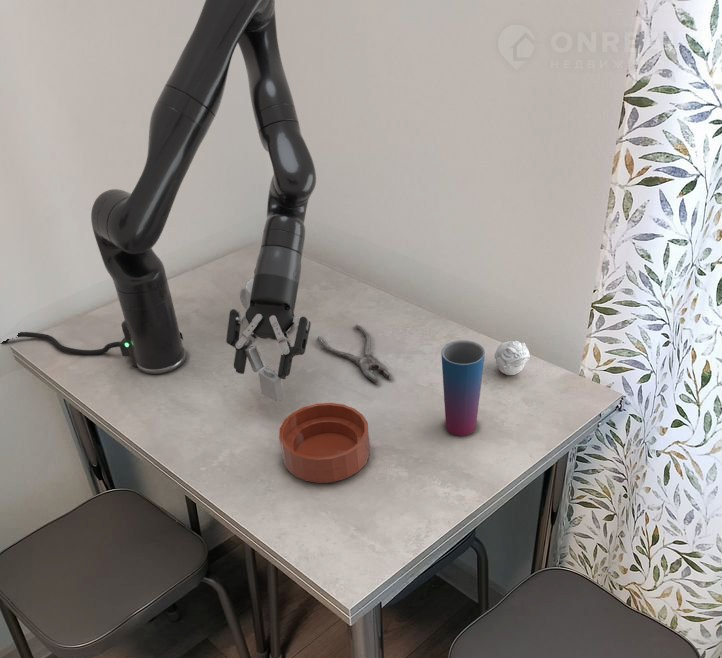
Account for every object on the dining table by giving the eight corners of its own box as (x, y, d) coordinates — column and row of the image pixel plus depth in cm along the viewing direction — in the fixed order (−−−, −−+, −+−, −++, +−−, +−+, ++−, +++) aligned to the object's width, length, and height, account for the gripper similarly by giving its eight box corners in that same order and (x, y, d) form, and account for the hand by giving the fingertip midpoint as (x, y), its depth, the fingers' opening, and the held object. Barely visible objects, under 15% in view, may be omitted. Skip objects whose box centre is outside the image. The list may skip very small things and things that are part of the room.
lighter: (284, 397, 137) (278, 358, 132) (276, 402, 137) (270, 362, 131) (258, 381, 142) (251, 342, 136) (250, 386, 141) (243, 347, 135)
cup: (437, 416, 139) (438, 342, 129) (476, 412, 139) (480, 338, 129) (444, 441, 134) (445, 366, 124) (484, 437, 134) (489, 362, 124)
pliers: (351, 319, 162) (417, 361, 150) (352, 323, 163) (417, 365, 151) (312, 337, 158) (377, 382, 146) (313, 341, 159) (377, 385, 146)
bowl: (270, 478, 129) (266, 452, 126) (299, 423, 140) (296, 398, 136) (356, 491, 126) (353, 465, 122) (379, 434, 136) (378, 408, 133)
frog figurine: (505, 388, 144) (508, 355, 140) (486, 367, 149) (488, 335, 145) (535, 379, 146) (538, 346, 141) (515, 359, 151) (518, 327, 146)
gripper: (323, 289, 138) (307, 384, 137) (245, 281, 141) (229, 374, 140) (310, 275, 131) (293, 376, 130) (228, 268, 134) (211, 366, 133)
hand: (260, 375), depth 135 cm, fingers closed on lighter, 7 cm apart
